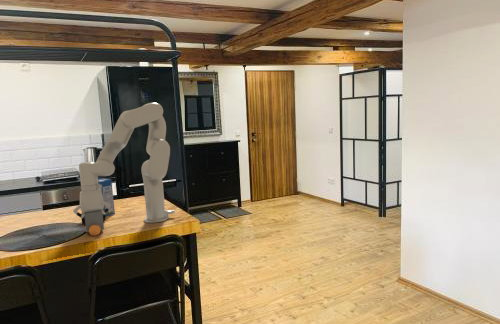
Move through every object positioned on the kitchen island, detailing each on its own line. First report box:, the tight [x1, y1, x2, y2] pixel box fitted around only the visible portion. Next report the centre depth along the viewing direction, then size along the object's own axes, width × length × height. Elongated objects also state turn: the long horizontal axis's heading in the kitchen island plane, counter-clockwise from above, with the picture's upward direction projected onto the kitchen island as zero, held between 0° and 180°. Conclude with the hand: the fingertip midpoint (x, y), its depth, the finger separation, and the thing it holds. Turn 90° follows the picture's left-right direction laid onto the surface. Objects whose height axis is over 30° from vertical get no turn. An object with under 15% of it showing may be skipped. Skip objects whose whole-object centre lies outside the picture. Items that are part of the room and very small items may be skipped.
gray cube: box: [84, 210, 105, 233], centre depth 174 cm, size 8×8×9 cm
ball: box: [88, 225, 102, 237], centre depth 168 cm, size 5×5×5 cm
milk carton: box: [98, 178, 116, 218], centre depth 205 cm, size 10×6×20 cm, turn 57°
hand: (94, 223), depth 174 cm, fingers closed on gray cube, 7 cm apart
